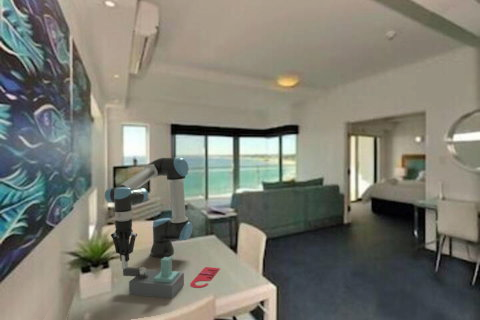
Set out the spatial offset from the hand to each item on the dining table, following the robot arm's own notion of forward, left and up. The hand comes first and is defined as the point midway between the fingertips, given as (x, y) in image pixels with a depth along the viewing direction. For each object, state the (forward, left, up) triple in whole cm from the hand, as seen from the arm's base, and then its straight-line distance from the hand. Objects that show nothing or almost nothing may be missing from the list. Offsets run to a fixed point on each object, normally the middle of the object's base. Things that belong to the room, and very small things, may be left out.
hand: (124, 267), depth 136 cm
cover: (-5, +19, -6) cm, 21 cm away
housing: (-5, +14, -12) cm, 19 cm away
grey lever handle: (-3, +3, -6) cm, 7 cm away
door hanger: (-22, +33, -12) cm, 42 cm away
